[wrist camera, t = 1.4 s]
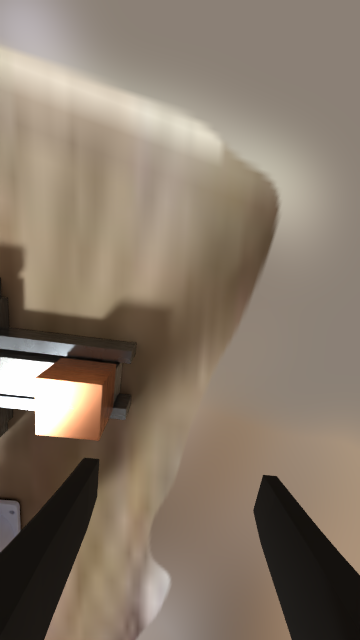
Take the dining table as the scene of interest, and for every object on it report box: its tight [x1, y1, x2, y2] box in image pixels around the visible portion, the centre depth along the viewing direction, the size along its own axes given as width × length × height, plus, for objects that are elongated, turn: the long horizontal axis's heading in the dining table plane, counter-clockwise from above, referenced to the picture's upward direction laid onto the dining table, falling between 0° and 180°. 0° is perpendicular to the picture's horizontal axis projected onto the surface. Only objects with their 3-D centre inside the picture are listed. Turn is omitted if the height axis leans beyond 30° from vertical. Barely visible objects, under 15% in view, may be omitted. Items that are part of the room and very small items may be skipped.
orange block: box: [0, 349, 122, 441], centre depth 15 cm, size 4×11×5 cm, turn 82°
